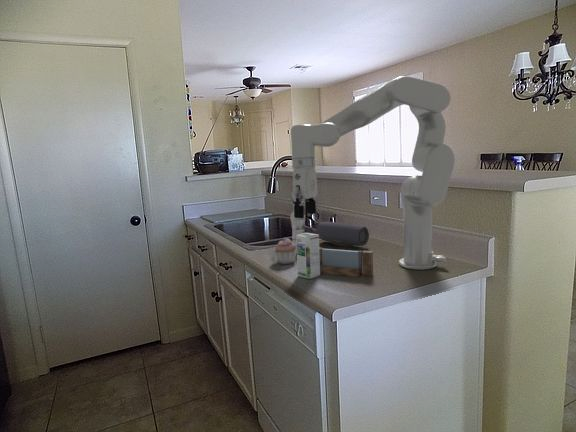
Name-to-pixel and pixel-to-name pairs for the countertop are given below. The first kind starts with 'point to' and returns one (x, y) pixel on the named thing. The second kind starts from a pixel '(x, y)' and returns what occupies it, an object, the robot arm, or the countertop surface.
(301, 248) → the syrup box
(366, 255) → the door frame
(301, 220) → the plastic bottle
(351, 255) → the door
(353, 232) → the bluetooth speaker
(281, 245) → the cupcake
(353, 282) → the countertop surface
